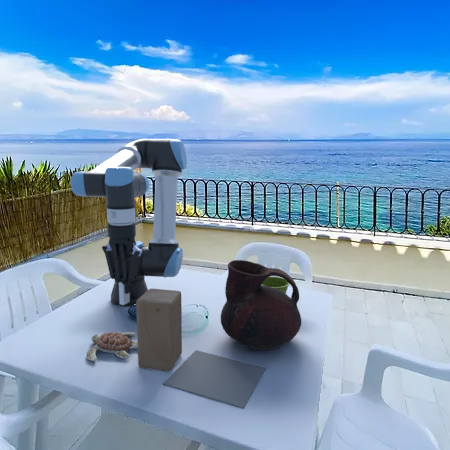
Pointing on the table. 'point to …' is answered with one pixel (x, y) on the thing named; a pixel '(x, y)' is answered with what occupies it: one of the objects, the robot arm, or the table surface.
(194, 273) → the table surface
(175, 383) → the mat
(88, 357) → the decorative turtle
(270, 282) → the plant pot
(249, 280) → the jug
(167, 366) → the wooden block
